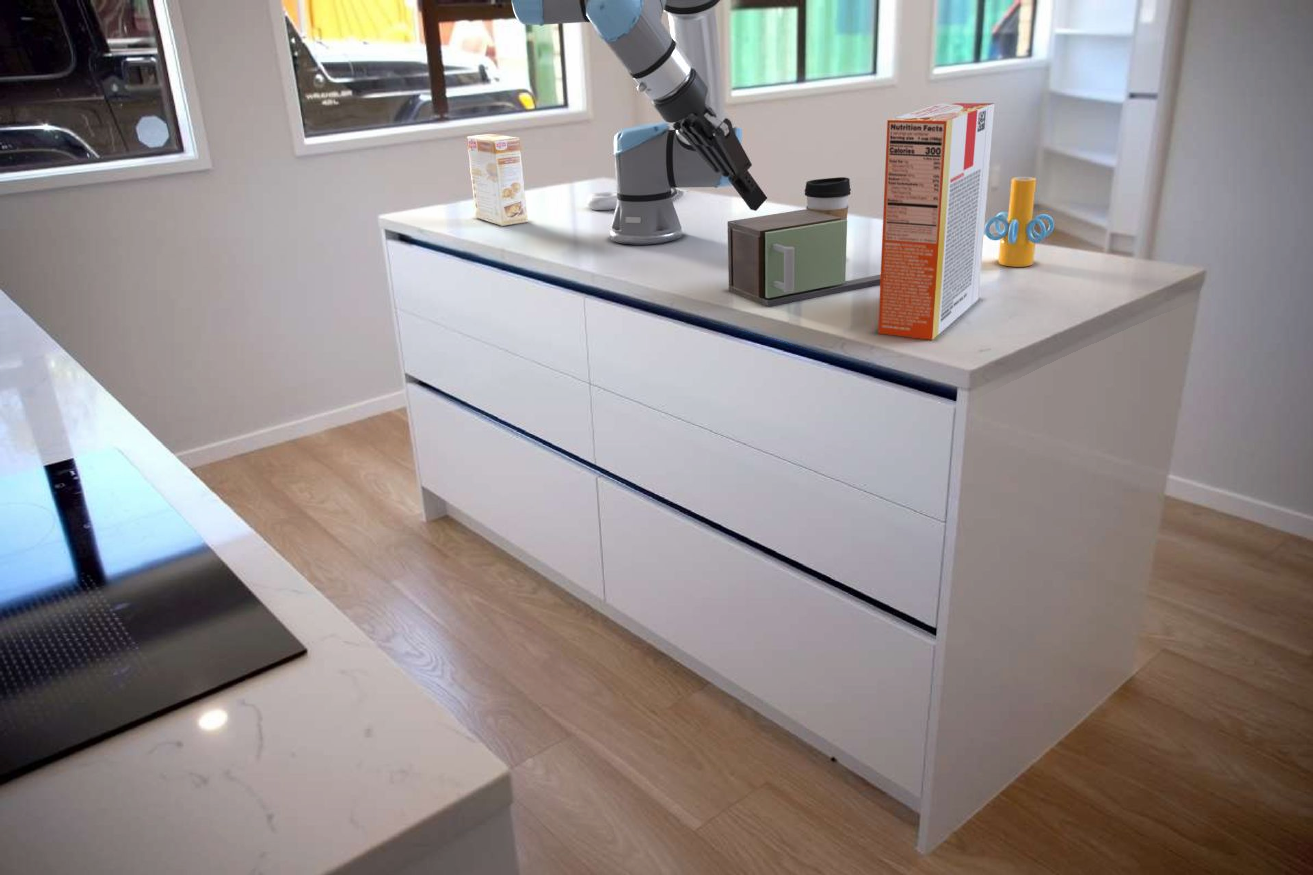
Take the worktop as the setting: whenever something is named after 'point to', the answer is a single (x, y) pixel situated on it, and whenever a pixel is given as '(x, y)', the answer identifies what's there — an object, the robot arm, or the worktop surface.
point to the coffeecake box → (497, 178)
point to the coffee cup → (828, 196)
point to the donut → (602, 201)
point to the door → (805, 258)
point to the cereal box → (933, 216)
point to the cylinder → (1019, 225)
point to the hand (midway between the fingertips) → (758, 203)
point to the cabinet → (750, 256)
